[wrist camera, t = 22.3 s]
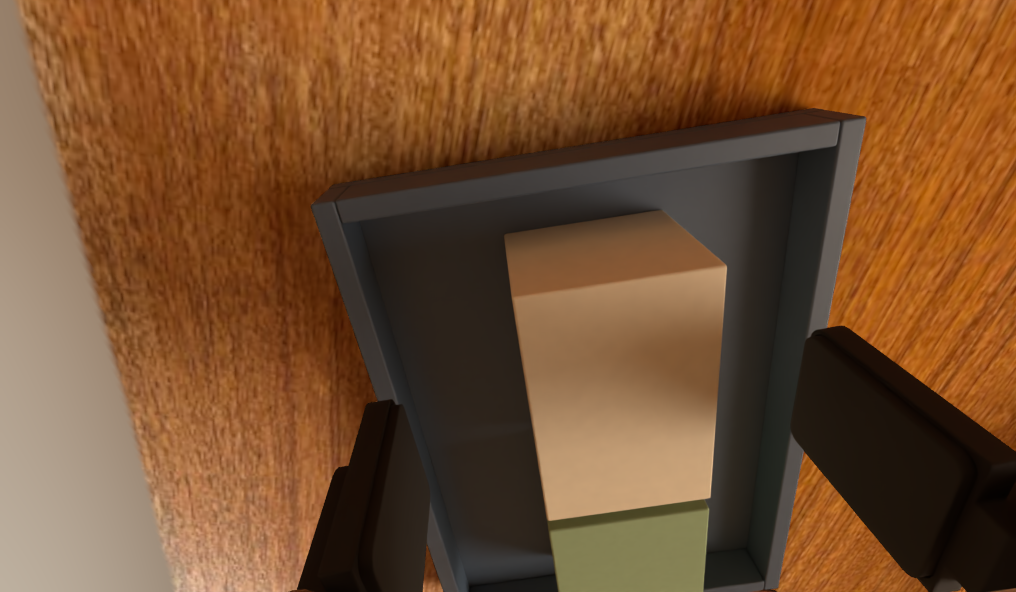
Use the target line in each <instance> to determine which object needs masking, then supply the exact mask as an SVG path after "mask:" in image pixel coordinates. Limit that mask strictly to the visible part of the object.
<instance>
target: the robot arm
mask: <svg viewBox="0 0 1016 592" xmlns="http://www.w3.org/2000/svg"><path fill="white" fill-rule="evenodd" d="M790 428H791V433H792V435H793V437H794V439H795V441H796V442H797V443H798V444H799V446H800V447H801V448H802V449H803V450H804V452H805V453H806V454H807V455H808V456H809V458H810V459H811V460H812V461H813V462H814V464H815V465H816V466H817V467H818V468H819V470H820V471H821V472H822V473H823V474H824V476H825V477H826V478H827V479H828V480H829V482H830V483H831V484H832V485H833V486H834V488H835V489H836V490H837V491H838V492H839V494H840V495H841V496H842V497H843V498H844V500H845V501H846V502H847V503H848V504H849V506H850V507H851V508H852V509H853V510H854V512H855V513H856V514H857V515H858V516H859V518H860V519H861V520H862V521H863V522H864V524H865V525H866V526H867V527H868V528H869V530H870V531H871V532H872V533H873V534H874V536H875V537H876V538H877V539H878V540H879V542H880V543H881V544H882V545H883V546H884V548H885V549H886V550H887V551H888V552H889V554H890V555H891V556H892V557H893V559H894V560H895V561H896V562H897V563H898V565H899V566H900V567H901V568H902V569H903V570H904V571H905V572H906V573H907V574H908V575H909V576H911V577H914V578H917V579H918V580H919V581H920V582H921V583H922V584H923V586H924V587H925V588H926V589H927V590H928V592H952V591H959V590H960V589H961V587H963V588H964V589H965V590H966V591H967V592H1016V452H1015V451H1014V450H1013V449H1011V448H1010V447H1009V446H1007V445H1006V444H1005V443H1003V442H1002V441H1001V440H999V439H998V438H996V437H995V436H994V435H992V434H991V433H990V432H988V431H987V430H986V429H984V428H983V427H982V426H980V425H979V424H978V423H976V422H975V421H973V420H972V419H971V418H969V417H968V416H967V415H965V414H964V413H963V412H961V411H960V410H959V409H957V408H956V407H954V406H953V405H952V404H950V403H949V402H948V401H946V400H945V399H944V398H942V397H941V396H940V395H938V394H937V393H936V392H934V391H933V390H931V389H930V388H929V387H927V386H926V385H925V384H923V383H922V382H921V381H919V380H918V379H917V378H915V377H914V376H912V375H911V374H910V373H908V372H907V371H906V370H904V369H903V368H902V367H900V366H899V365H898V364H896V363H895V362H894V361H892V360H891V359H889V358H888V357H887V356H885V355H884V354H883V353H881V352H880V351H879V350H877V349H876V348H875V347H873V346H872V345H870V344H869V343H868V342H866V341H865V340H864V339H862V338H861V337H860V336H858V335H857V334H856V333H854V332H853V331H852V330H850V329H849V328H847V327H845V326H836V327H830V328H824V329H818V330H815V331H814V332H813V333H812V334H811V337H809V338H807V339H806V341H805V344H804V350H803V356H802V361H801V367H800V372H799V378H798V384H797V389H796V395H795V400H794V406H793V412H792V417H791V423H790ZM429 510H430V487H429V483H428V480H427V477H426V474H425V470H424V467H423V464H422V461H421V458H420V455H419V452H418V449H417V446H416V442H415V439H414V436H413V433H412V430H411V427H410V424H409V421H408V418H407V415H406V411H405V408H404V406H403V405H402V404H398V405H396V404H395V402H394V400H393V399H389V400H383V401H377V402H370V403H368V404H367V405H366V407H365V410H364V414H363V417H362V421H361V424H360V428H359V431H358V435H357V438H356V442H355V445H354V449H353V452H352V456H351V459H350V462H349V466H344V467H338V468H337V470H336V471H335V473H334V475H333V477H332V480H331V483H330V487H329V490H328V493H327V496H326V499H325V502H324V506H323V509H322V512H321V515H320V518H319V521H318V524H317V528H316V531H315V534H314V537H313V540H312V543H311V547H310V550H309V553H308V556H307V559H306V562H305V566H304V569H303V572H302V575H301V578H300V581H299V584H298V588H297V590H292V591H290V592H423V581H424V569H425V557H426V545H427V533H428V522H429Z"/></svg>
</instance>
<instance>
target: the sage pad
mask: <svg viewBox="0 0 1016 592" xmlns="http://www.w3.org/2000/svg"><path fill="white" fill-rule="evenodd" d="M546 517H547V516H546ZM708 517H709V508H708V506H707V504H706V502H705V500H704V499H700V500H693V501H686V502H679V503H672V504H665V505H658V506H651V507H644V508H637V509H630V510H623V511H616V512H609V513H602V514H595V515H588V516H580V517H573V518H566V519H559V520H552V521H548V520H547V524H548V531H549V537H550V543H551V550H552V556H553V562H554V569H555V575H556V581H557V587H558V592H703V586H704V573H705V559H706V545H707V531H708Z"/></svg>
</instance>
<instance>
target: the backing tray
mask: <svg viewBox="0 0 1016 592" xmlns="http://www.w3.org/2000/svg"><path fill="white" fill-rule="evenodd" d="M865 123H866V117H864V116H858V115H852V114H846V113H840V112H833V111H827V110H822V109H816V108H811V109H805V110H798V111H792V112H786V113H780V114H773V115H767V116H761V117H754V118H748V119H742V120H736V121H729V122H723V123H717V124H711V125H704V126H698V127H692V128H685V129H679V130H673V131H667V132H660V133H654V134H648V135H641V136H635V137H629V138H623V139H616V140H610V141H604V142H598V143H591V144H585V145H579V146H572V147H566V148H560V149H554V150H547V151H541V152H535V153H528V154H522V155H516V156H510V157H503V158H497V159H491V160H485V161H478V162H472V163H466V164H459V165H453V166H447V167H441V168H434V169H428V170H422V171H415V172H409V173H403V174H397V175H390V176H384V177H378V178H371V179H365V180H359V181H353V182H346V183H340V184H334V185H332V186H331V187H330V188H329V189H328V190H327V191H326V192H325V193H324V194H323V195H321V196H320V197H319V198H318V199H317V200H316V201H315V202H314V203H312V204H311V209H312V212H313V215H314V218H315V220H316V223H317V226H318V229H319V232H320V235H321V238H322V241H323V244H324V247H325V249H326V252H327V255H328V258H329V261H330V264H331V267H332V270H333V273H334V276H335V278H336V281H337V284H338V287H339V290H340V293H341V296H342V299H343V302H344V305H345V308H346V310H347V313H348V316H349V319H350V322H351V325H352V328H353V331H354V334H355V337H356V339H357V342H358V345H359V348H360V351H361V354H362V357H363V360H364V363H365V366H366V368H367V371H368V374H369V377H370V380H371V383H372V386H373V389H374V392H375V395H376V397H377V400H378V401H383V400H389V399H393V400H394V402H395V404H396V405H398V404H402V405H403V406H404V408H405V411H406V415H407V418H408V421H409V424H410V427H411V430H412V433H413V436H414V439H415V442H416V446H417V449H418V452H419V455H420V458H421V461H422V464H423V467H424V470H425V474H426V477H427V480H428V483H429V487H430V510H429V522H428V533H427V545H428V548H429V551H430V554H431V557H432V560H433V563H434V566H435V569H436V571H437V574H438V577H439V580H440V583H441V586H442V589H443V592H558V587H557V581H556V575H555V569H554V562H553V556H552V550H551V543H550V537H549V531H548V524H547V517H546V510H545V504H544V497H543V491H542V485H541V478H540V472H539V466H538V460H537V453H536V447H535V441H534V435H533V428H532V422H531V416H530V410H529V403H528V397H527V391H526V384H525V378H524V372H523V366H522V359H521V353H520V347H519V341H518V334H517V328H516V322H515V315H514V309H513V303H512V296H511V288H510V280H509V272H508V264H507V256H506V248H505V240H504V235H505V234H508V233H515V232H521V231H528V230H534V229H541V228H547V227H553V226H560V225H566V224H573V223H579V222H586V221H592V220H599V219H605V218H612V217H618V216H624V215H631V214H637V213H644V212H650V211H657V210H663V211H664V212H665V213H666V214H667V215H669V216H670V217H671V218H672V219H673V220H674V221H676V222H677V223H678V224H679V225H680V226H681V227H683V228H684V229H685V230H686V231H687V232H688V233H690V234H691V235H692V236H693V237H694V238H695V239H697V240H698V241H699V242H700V243H701V244H702V245H704V246H705V247H706V248H707V249H708V250H709V251H711V252H712V253H713V254H714V255H715V256H716V257H718V258H719V259H720V260H721V261H722V262H723V263H725V264H726V266H727V274H726V288H725V302H724V316H723V329H722V343H721V357H720V371H719V385H718V399H717V413H716V426H715V440H714V454H713V468H712V482H711V496H710V498H707V499H704V500H705V502H706V504H707V506H708V508H709V517H708V531H707V545H706V559H705V573H704V586H703V592H752V591H759V590H763V589H764V590H767V589H774V588H778V585H779V579H780V574H781V569H782V563H783V558H784V553H785V548H786V542H787V537H788V532H789V526H790V521H791V516H792V510H793V505H794V500H795V494H796V489H797V484H798V479H799V473H800V468H801V463H802V457H803V452H804V450H803V449H802V448H801V447H800V446H799V444H798V443H797V442H796V441H795V439H794V437H793V435H792V433H791V428H790V423H791V417H792V412H793V406H794V400H795V395H796V389H797V384H798V378H799V372H800V367H801V361H802V356H803V350H804V344H805V341H806V339H807V338H809V337H811V334H812V333H813V332H814V331H815V330H818V329H824V328H827V325H828V319H829V314H830V309H831V304H832V298H833V293H834V288H835V282H836V277H837V272H838V266H839V261H840V256H841V250H842V245H843V240H844V235H845V229H846V224H847V219H848V213H849V208H850V203H851V197H852V192H853V187H854V181H855V176H856V171H857V166H858V160H859V155H860V150H861V144H862V139H863V134H864V128H865Z"/></svg>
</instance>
